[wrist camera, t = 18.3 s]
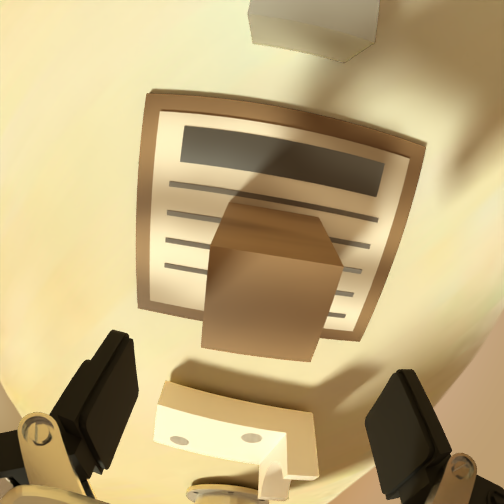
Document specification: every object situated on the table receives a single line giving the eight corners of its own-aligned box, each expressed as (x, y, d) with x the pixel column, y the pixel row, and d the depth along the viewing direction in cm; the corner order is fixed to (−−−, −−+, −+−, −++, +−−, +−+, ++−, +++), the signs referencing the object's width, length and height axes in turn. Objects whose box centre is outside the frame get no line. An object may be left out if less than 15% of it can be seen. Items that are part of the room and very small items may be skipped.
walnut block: (299, 293, 18) (310, 362, 13) (218, 281, 18) (201, 347, 13) (318, 217, 16) (343, 266, 11) (228, 202, 16) (210, 245, 11)
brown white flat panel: (359, 339, 20) (360, 343, 20) (139, 305, 20) (137, 309, 20) (423, 146, 15) (427, 147, 14) (148, 93, 14) (145, 93, 14)
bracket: (311, 404, 24) (319, 476, 17) (283, 439, 27) (284, 500, 20) (168, 372, 23) (144, 445, 16) (161, 413, 26) (143, 475, 19)
